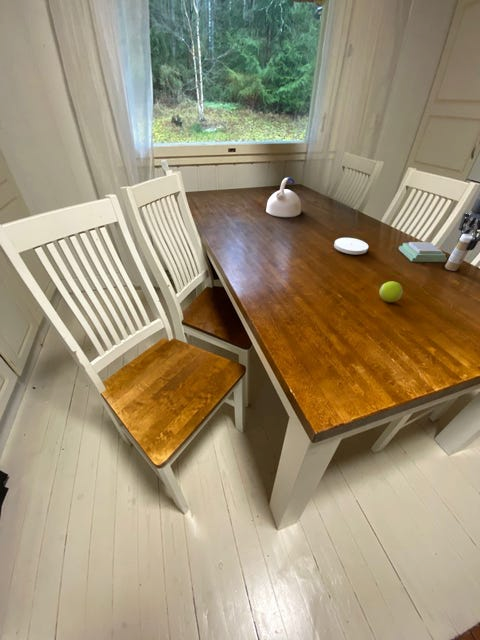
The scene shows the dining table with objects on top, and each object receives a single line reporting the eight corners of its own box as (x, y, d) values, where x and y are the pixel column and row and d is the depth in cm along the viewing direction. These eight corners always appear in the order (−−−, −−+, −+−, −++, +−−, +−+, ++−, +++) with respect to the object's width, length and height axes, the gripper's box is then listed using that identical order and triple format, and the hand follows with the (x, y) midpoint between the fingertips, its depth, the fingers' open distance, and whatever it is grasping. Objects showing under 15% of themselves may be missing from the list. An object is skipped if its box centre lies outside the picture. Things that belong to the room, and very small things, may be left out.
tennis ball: (378, 292, 93) (385, 275, 89) (399, 298, 91) (407, 281, 86) (374, 302, 89) (381, 284, 84) (397, 308, 86) (405, 290, 82)
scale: (429, 249, 121) (432, 243, 119) (445, 262, 112) (449, 255, 110) (398, 249, 121) (400, 242, 119) (411, 261, 112) (414, 254, 110)
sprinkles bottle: (452, 265, 109) (471, 233, 100) (459, 271, 106) (480, 238, 97) (441, 265, 109) (459, 233, 100) (448, 271, 105) (467, 238, 97)
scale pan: (428, 245, 118) (429, 242, 117) (440, 254, 111) (442, 251, 110) (407, 245, 118) (409, 241, 117) (418, 254, 111) (420, 250, 110)
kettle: (259, 213, 156) (261, 178, 145) (275, 204, 170) (278, 172, 159) (292, 220, 148) (297, 183, 137) (306, 210, 162) (311, 176, 151)
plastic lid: (373, 252, 118) (375, 246, 116) (351, 259, 112) (353, 253, 111) (348, 240, 127) (350, 235, 126) (326, 246, 122) (328, 241, 120)
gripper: (520, 205, 85) (487, 255, 96) (487, 192, 96) (462, 239, 107) (496, 204, 85) (466, 255, 96) (466, 192, 96) (443, 239, 107)
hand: (464, 246), depth 101 cm, fingers closed on sprinkles bottle, 4 cm apart
